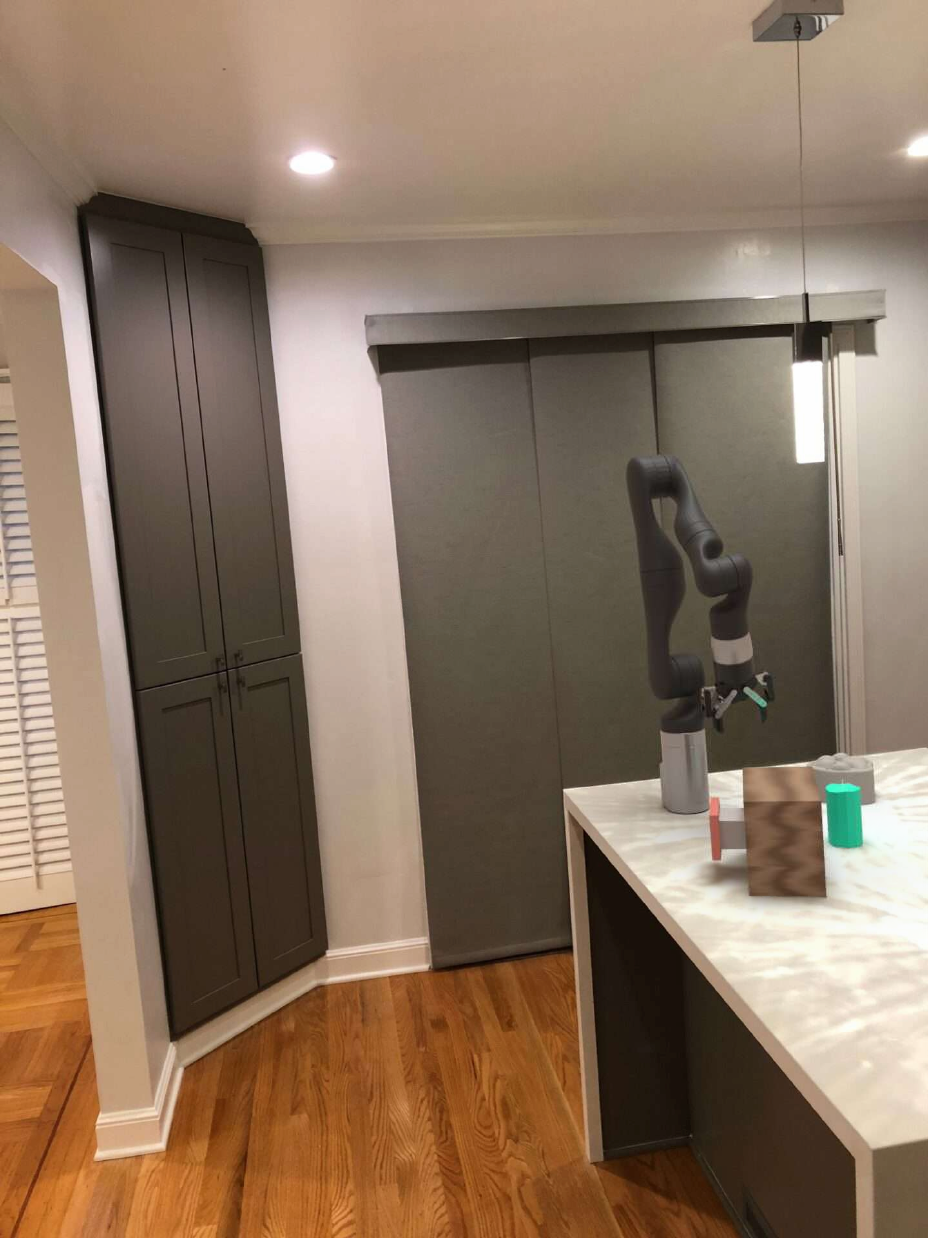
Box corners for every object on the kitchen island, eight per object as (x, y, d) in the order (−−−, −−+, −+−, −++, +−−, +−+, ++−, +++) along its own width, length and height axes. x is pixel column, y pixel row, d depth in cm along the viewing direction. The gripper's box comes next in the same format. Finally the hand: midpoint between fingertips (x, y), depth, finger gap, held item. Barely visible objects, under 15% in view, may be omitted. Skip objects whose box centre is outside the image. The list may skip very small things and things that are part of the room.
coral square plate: (712, 860, 165) (709, 815, 164) (713, 840, 174) (710, 797, 173) (770, 861, 162) (767, 815, 161) (768, 840, 172) (765, 797, 171)
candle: (866, 847, 174) (863, 783, 173) (831, 848, 176) (827, 784, 174) (859, 836, 180) (856, 774, 179) (825, 837, 182) (822, 775, 180)
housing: (749, 895, 159) (743, 801, 157) (747, 851, 178) (742, 767, 176) (826, 897, 156) (821, 801, 154) (816, 852, 175) (811, 766, 173)
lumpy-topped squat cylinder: (875, 806, 196) (873, 764, 195) (808, 804, 201) (805, 764, 200) (873, 790, 206) (871, 751, 205) (809, 789, 211) (807, 751, 210)
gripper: (759, 638, 190) (766, 710, 196) (690, 655, 190) (699, 727, 195) (775, 652, 183) (783, 726, 189) (704, 670, 183) (713, 744, 188)
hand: (740, 726), depth 192 cm, fingers open, 8 cm apart
